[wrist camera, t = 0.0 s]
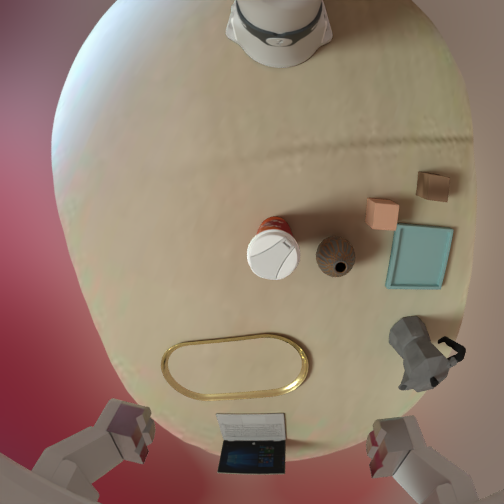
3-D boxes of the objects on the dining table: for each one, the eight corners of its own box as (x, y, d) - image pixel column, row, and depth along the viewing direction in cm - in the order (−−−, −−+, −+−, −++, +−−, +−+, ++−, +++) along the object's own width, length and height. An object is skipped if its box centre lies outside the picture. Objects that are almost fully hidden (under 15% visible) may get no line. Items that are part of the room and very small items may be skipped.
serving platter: (311, 387, 69) (312, 391, 68) (177, 397, 74) (176, 401, 73) (303, 325, 63) (303, 329, 62) (151, 341, 68) (149, 345, 67)
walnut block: (418, 171, 51) (429, 174, 46) (437, 174, 50) (450, 177, 46) (415, 194, 52) (427, 199, 47) (435, 197, 52) (447, 202, 47)
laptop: (283, 411, 73) (283, 450, 60) (285, 438, 77) (285, 474, 64) (216, 412, 75) (207, 449, 62) (224, 438, 79) (217, 473, 66)
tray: (395, 222, 54) (398, 224, 53) (450, 227, 53) (453, 229, 52) (385, 285, 59) (387, 288, 57) (437, 286, 58) (440, 289, 56)
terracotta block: (367, 197, 53) (375, 203, 49) (389, 199, 53) (399, 205, 48) (364, 221, 55) (372, 228, 50) (386, 223, 55) (395, 230, 50)
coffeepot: (385, 358, 65) (407, 413, 48) (374, 330, 62) (398, 386, 45) (442, 329, 61) (475, 376, 44) (435, 298, 59) (473, 345, 42)
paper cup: (273, 201, 55) (272, 220, 42) (304, 230, 56) (312, 257, 43) (244, 232, 57) (234, 259, 44) (274, 259, 59) (273, 293, 45)
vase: (306, 248, 57) (311, 266, 49) (334, 224, 55) (344, 238, 47) (329, 273, 59) (336, 294, 50) (357, 251, 57) (369, 268, 48)
